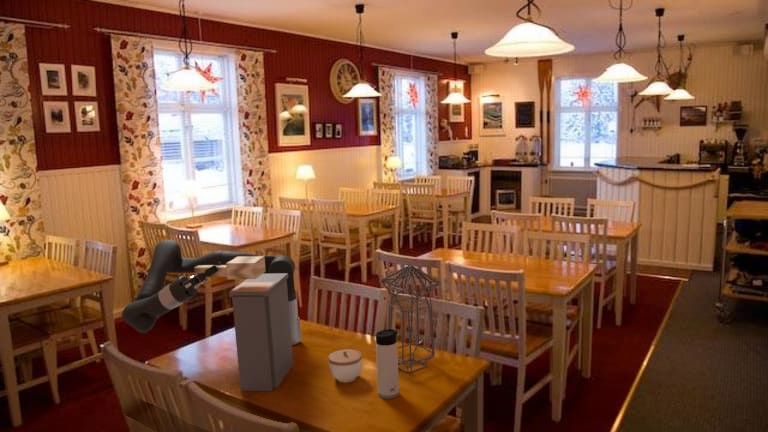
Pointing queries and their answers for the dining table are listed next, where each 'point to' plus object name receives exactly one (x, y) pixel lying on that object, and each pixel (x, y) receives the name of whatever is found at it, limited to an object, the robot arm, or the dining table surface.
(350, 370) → the lidded jar
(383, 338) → the travel mug
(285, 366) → the tall grey pillar box
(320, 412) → the dining table surface
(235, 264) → the beech mallet
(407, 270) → the geometric lantern
